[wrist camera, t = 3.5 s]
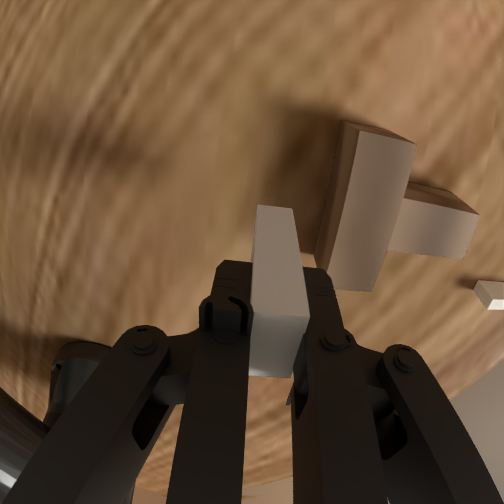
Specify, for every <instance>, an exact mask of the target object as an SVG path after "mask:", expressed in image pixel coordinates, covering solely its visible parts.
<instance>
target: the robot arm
mask: <svg viewBox="0 0 504 504" xmlns="http://www.w3.org/2000/svg"><path fill="white" fill-rule="evenodd" d="M292 371H293V373H294V383H293V385H292V388H291V391H290V393H289V396H288V399H287V403H286V405H290V403H291V417H292V451H293V504H388V500H389V503H390V504H504V503H503V501H502V498H501V496H500V494H499V492H498V490H497V488H496V486H495V484H494V482H493V480H492V478H491V476H490V473H489V472H488V470H487V468H486V466H485V464H484V462H483V460H482V458H481V456H480V454H479V452H478V450H477V448H476V447H475V445H474V443H473V441H472V439H471V437H470V436H469V434H468V432H467V430H466V429H465V427H464V425H463V423H462V422H461V420H460V418H459V416H458V415H457V413H456V411H455V410H454V408H453V406H452V405H451V403H450V401H449V400H448V398H447V396H446V395H445V393H444V391H443V390H442V388H441V386H440V385H439V383H438V382H437V380H436V378H435V377H434V375H433V374H432V372H431V371H430V369H429V367H428V366H427V364H426V363H425V361H424V360H423V358H422V357H421V356H420V355H419V353H418V352H417V351H416V350H414V349H412V348H411V347H409V346H406V345H402V344H394V345H392V346H390V347H388V348H387V349H386V350H385V352H384V353H381V352H377V351H374V350H370V349H367V348H364V347H362V346H360V345H358V344H357V343H356V341H355V339H354V337H353V335H352V334H351V333H350V332H349V331H347V330H346V329H344V326H343V322H342V317H341V313H340V309H339V306H338V302H337V298H336V294H335V290H334V286H333V283H332V279H331V277H330V276H329V275H328V274H327V273H326V271H325V270H324V269H319V268H309V267H302V261H301V255H300V249H299V243H298V238H297V232H296V226H295V221H294V215H293V210H292V208H284V207H276V206H267V205H258V204H257V212H256V221H255V229H254V238H253V246H252V255H251V262H242V261H232V260H224V261H223V262H222V263H221V264H220V265H219V266H218V267H217V268H216V273H215V277H214V282H213V287H212V290H211V295H210V296H208V297H207V298H205V299H204V300H203V301H202V302H201V304H200V306H199V328H197V329H196V330H195V331H192V332H190V333H188V334H183V335H176V336H167V335H166V334H165V333H164V331H162V330H160V329H159V328H157V327H154V326H149V325H141V326H135V327H133V328H131V329H128V330H127V331H126V332H125V333H124V334H122V335H121V337H120V338H119V339H118V341H117V342H116V343H115V344H114V346H113V347H112V348H108V347H105V346H102V345H98V344H93V343H87V342H74V343H69V344H67V345H65V346H63V347H62V348H61V349H60V351H59V353H58V355H57V357H56V359H55V360H54V362H53V366H52V371H51V380H50V390H49V402H48V410H47V413H46V415H45V418H44V420H43V422H42V421H41V420H39V419H38V418H37V417H35V416H34V415H33V414H32V413H30V412H29V411H28V410H26V409H25V408H24V407H23V406H22V405H20V404H19V403H18V402H17V401H16V400H14V399H13V398H12V397H11V396H10V395H9V394H7V393H6V392H5V391H4V390H3V389H2V388H1V387H0V504H132V499H133V493H134V488H135V482H136V478H137V476H138V474H139V473H140V471H141V469H142V467H143V465H144V463H145V461H146V460H147V458H148V456H149V454H150V452H151V450H152V448H153V447H154V445H155V443H156V441H157V439H158V437H159V435H160V434H161V432H162V430H163V428H164V426H165V424H166V422H167V421H168V419H169V417H170V415H171V413H172V411H173V409H174V407H175V406H176V405H177V404H184V406H183V411H182V416H181V421H180V427H179V432H178V437H177V443H176V448H175V453H174V459H173V465H172V470H171V476H170V482H169V488H168V494H167V500H166V504H241V498H242V481H243V464H244V447H245V430H246V412H247V394H248V377H249V375H253V376H265V377H280V378H290V377H291V374H292ZM387 498H388V500H387Z"/></svg>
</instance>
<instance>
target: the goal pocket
mask: <svg viewBox="0 0 504 504" xmlns="http://www.w3.org/2000/svg"><path fill="white" fill-rule="evenodd" d="M473 290H474V292H475V293H476V295H477V296H478V297H479V299H480V300H481V302H482V303H483V304H484V306H485V307H486V309H487V310H497V309H504V282H496V281H484V280H478V281H477V283H476V285H475V287H474V289H473Z"/></svg>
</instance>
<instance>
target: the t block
mask: <svg viewBox="0 0 504 504" xmlns="http://www.w3.org/2000/svg"><path fill="white" fill-rule="evenodd" d="M416 148H417V144H415V143H413V142H411V141H409V140H407V139H405V138H403V137H401V136H399V135H397V134H395V133H393V132H391V131H388V130H384V129H380V128H375V127H371V126H367V125H362V124H358V123H353V122H348V121H343V120H341V124H340V130H339V135H338V141H337V146H336V152H335V157H334V163H333V168H332V173H331V178H330V183H329V188H328V193H327V198H326V202H325V207H324V212H323V217H322V221H321V226H320V230H319V235H318V239H317V243H316V248H315V252H314V258H315V262H316V266H317V268H319V269H324V270H325V271H326V273H327V274H328V275H329V276H330V277H331V279H332V283H333V286H334V289H337V290H351V291H365V292H372V290H373V287H374V284H375V282H376V279H377V277H378V274H379V271H380V268H381V266H382V263H383V260H384V257H385V254H386V252H387V250H388V251H396V252H405V253H413V254H421V255H429V256H437V257H445V258H453V259H461V260H462V259H463V257H464V255H465V252H466V250H467V248H468V245H469V243H470V240H471V238H472V235H473V233H474V230H475V228H476V225H477V223H478V220H479V217H480V215H479V214H478V213H477V212H476V211H474V210H473V209H472V208H471V207H470V206H468V205H467V204H466V203H465V202H463V201H462V200H461V199H460V198H458V197H457V196H456V195H455V194H453V193H452V192H448V191H444V190H440V189H436V188H432V187H428V186H423V185H419V184H415V183H410V182H408V180H409V176H410V172H411V168H412V164H413V160H414V156H415V152H416Z"/></svg>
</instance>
